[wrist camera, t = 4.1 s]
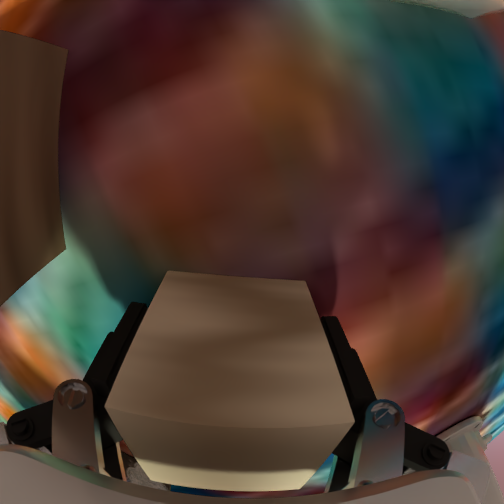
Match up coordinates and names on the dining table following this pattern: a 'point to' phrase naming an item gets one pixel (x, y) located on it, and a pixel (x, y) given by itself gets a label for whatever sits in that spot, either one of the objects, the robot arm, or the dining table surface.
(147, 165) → the dining table surface
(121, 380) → the beech block
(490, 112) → the dining table surface
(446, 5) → the potion bottle
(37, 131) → the tan square block
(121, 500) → the robot arm
